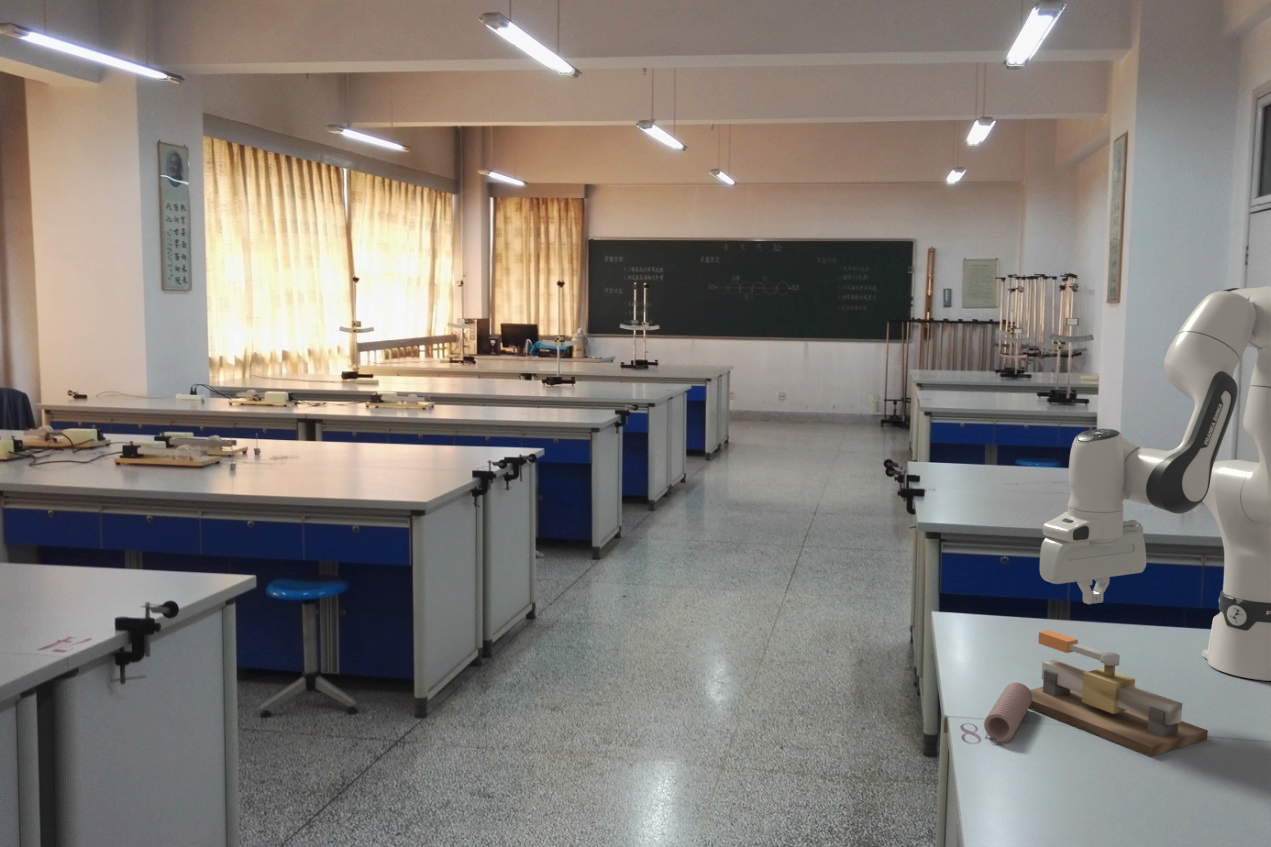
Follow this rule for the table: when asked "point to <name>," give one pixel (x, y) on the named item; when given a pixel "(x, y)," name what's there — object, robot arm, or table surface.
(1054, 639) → the valve lever
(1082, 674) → the valve stand
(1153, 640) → the table surface
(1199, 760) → the table surface
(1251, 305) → the robot arm
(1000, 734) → the coil
